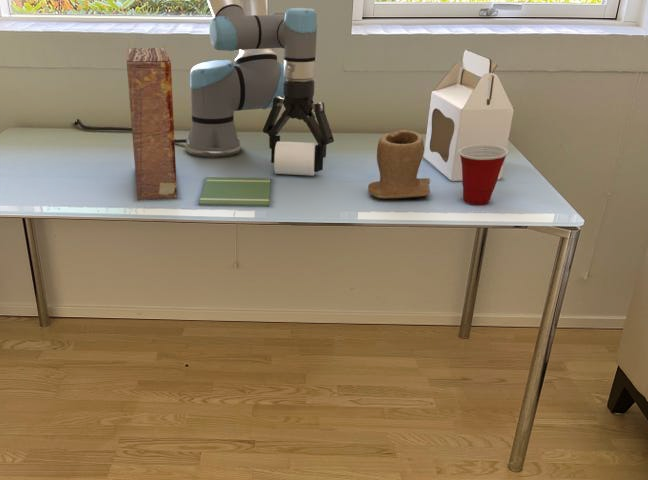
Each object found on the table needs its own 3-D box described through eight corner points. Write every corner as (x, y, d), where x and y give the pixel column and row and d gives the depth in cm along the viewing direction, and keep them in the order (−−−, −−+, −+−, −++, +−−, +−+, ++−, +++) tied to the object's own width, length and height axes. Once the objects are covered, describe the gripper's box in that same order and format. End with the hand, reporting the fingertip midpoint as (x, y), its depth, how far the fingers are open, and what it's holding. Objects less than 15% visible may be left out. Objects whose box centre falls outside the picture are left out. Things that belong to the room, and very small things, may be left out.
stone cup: (374, 205, 165) (380, 138, 158) (364, 189, 175) (369, 126, 168) (439, 204, 166) (448, 138, 158) (425, 188, 176) (433, 125, 169)
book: (136, 169, 189) (126, 45, 173) (172, 168, 190) (165, 44, 174) (137, 201, 167) (126, 62, 152) (177, 199, 168) (170, 61, 153)
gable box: (501, 180, 182) (523, 61, 168) (451, 181, 181) (468, 62, 167) (468, 156, 201) (485, 47, 187) (422, 157, 200) (436, 48, 186)
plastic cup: (445, 194, 172) (452, 143, 166) (489, 193, 173) (498, 142, 167) (459, 209, 163) (468, 156, 157) (506, 208, 164) (516, 155, 158)
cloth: (198, 205, 165) (198, 202, 165) (207, 178, 182) (206, 176, 182) (269, 206, 164) (269, 204, 164) (270, 179, 182) (270, 177, 181)
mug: (312, 179, 182) (314, 147, 178) (273, 177, 183) (274, 145, 179) (317, 166, 192) (318, 135, 188) (279, 164, 194) (280, 134, 189)
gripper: (249, 75, 180) (249, 161, 191) (334, 86, 167) (329, 178, 178) (267, 71, 185) (266, 155, 196) (351, 82, 172) (345, 171, 183)
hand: (296, 166), depth 187 cm, fingers open, 13 cm apart
